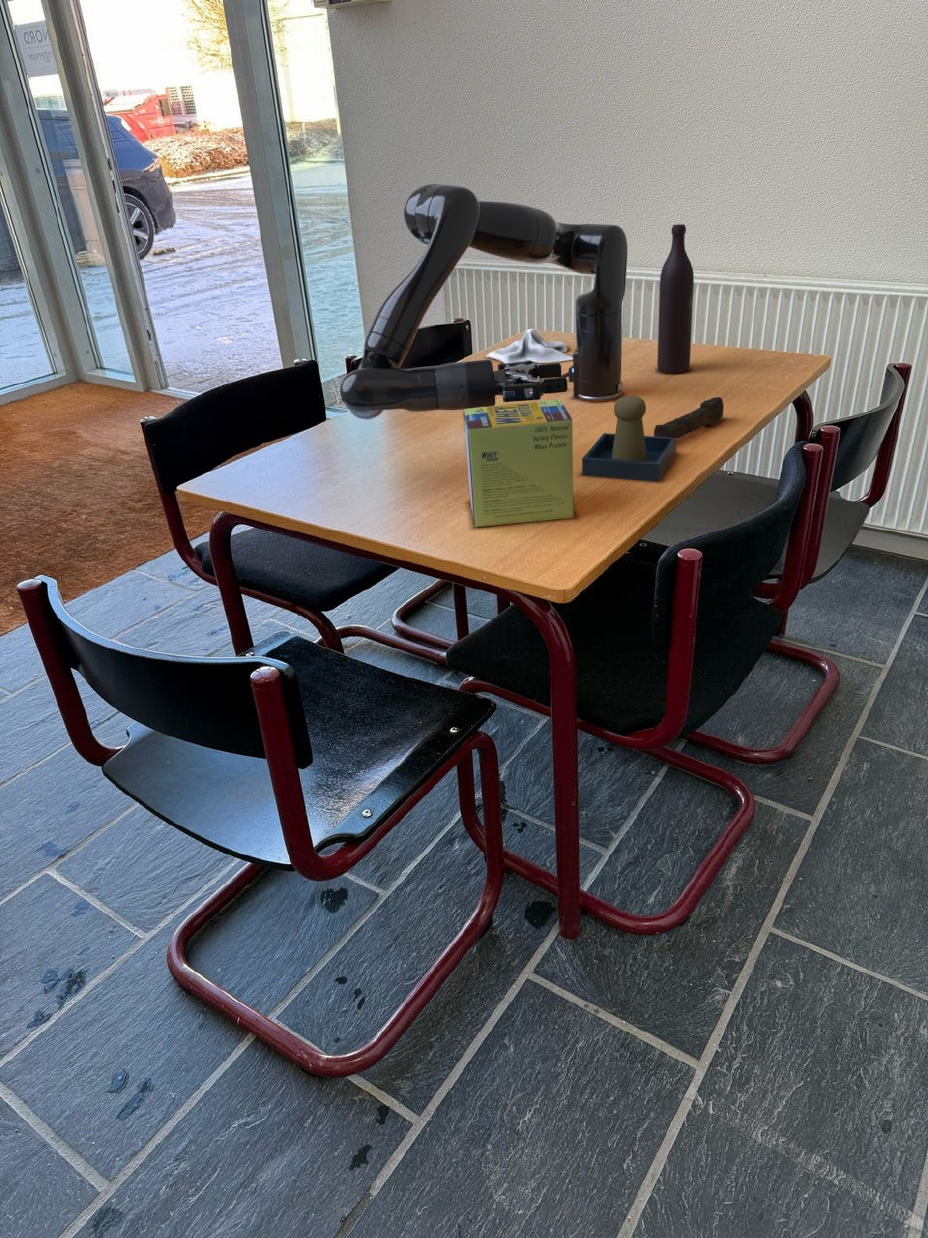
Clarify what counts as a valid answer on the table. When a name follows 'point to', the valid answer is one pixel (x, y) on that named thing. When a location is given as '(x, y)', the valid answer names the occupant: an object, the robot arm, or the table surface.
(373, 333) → the robot arm
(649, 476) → the caddy
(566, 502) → the protein box
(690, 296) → the wine bottle
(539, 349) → the cloth
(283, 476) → the table surface
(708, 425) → the rusty railroad spike
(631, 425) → the cork
